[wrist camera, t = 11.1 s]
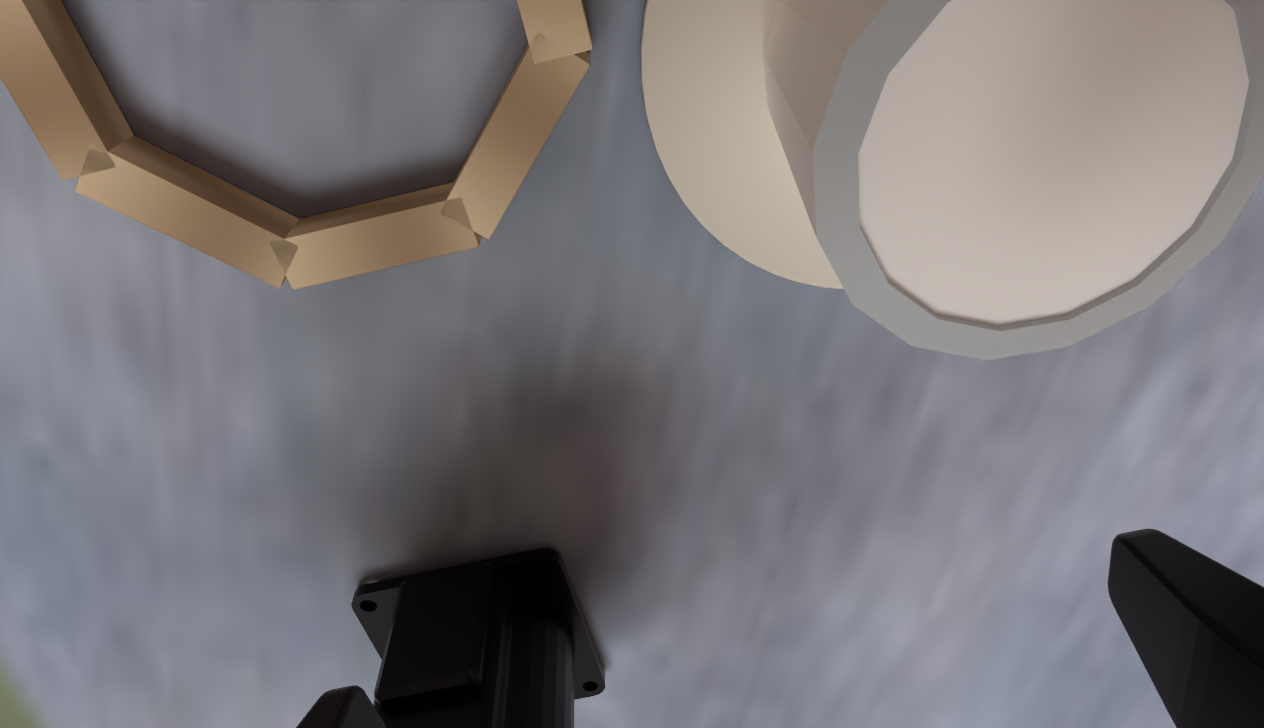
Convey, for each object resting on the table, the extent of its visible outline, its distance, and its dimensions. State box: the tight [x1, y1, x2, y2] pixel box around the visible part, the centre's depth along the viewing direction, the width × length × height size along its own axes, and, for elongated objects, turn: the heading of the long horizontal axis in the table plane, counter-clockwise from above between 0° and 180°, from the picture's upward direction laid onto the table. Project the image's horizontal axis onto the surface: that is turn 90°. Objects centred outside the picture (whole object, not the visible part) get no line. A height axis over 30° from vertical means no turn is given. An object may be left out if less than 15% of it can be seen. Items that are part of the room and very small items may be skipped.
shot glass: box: [763, 0, 1264, 361], centre depth 15 cm, size 7×7×7 cm
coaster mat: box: [641, 0, 844, 289], centre depth 18 cm, size 11×11×1 cm
